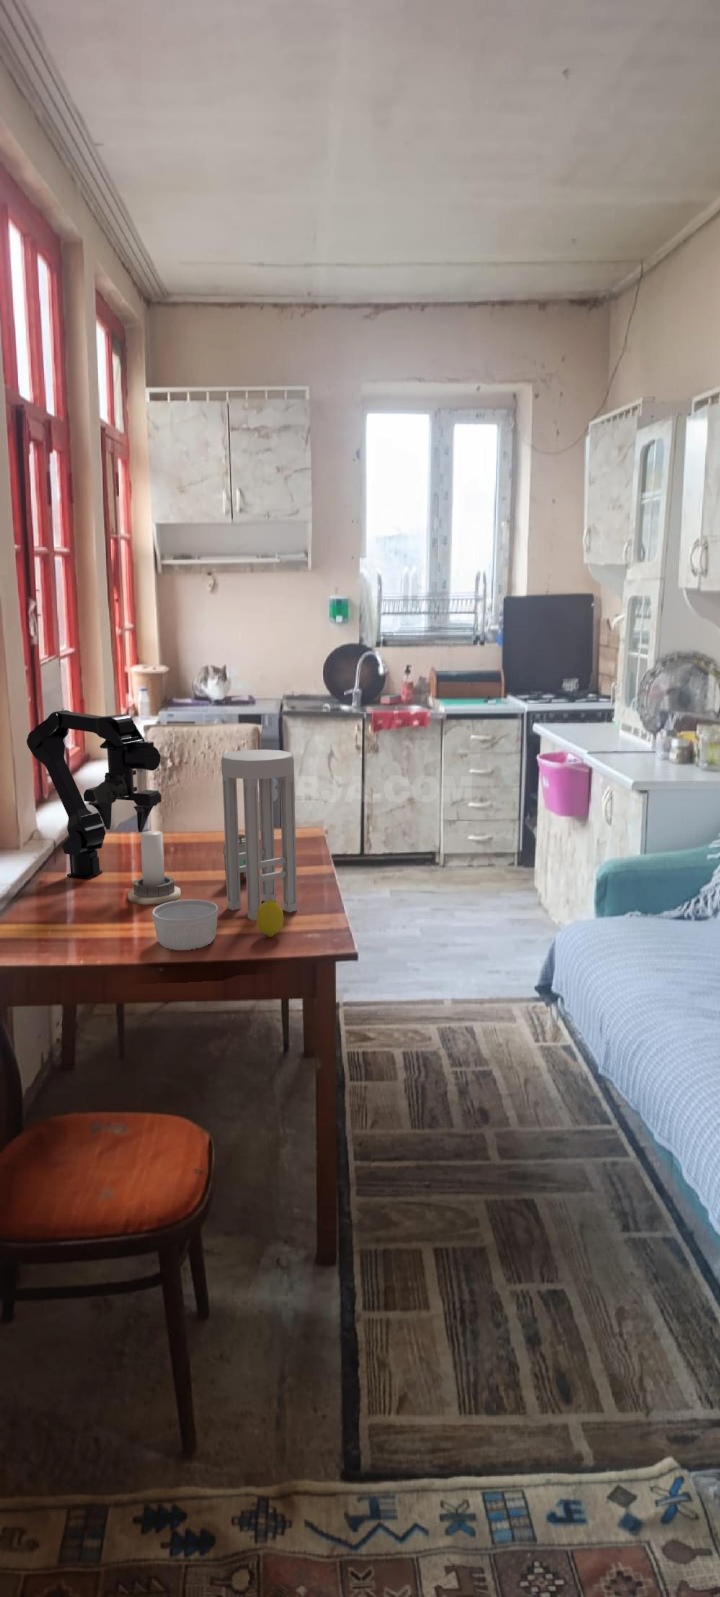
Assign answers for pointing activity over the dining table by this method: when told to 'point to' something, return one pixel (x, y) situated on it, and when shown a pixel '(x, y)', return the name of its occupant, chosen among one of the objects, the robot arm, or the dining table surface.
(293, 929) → the dining table surface
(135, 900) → the socket
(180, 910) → the ramekin
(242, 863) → the food container
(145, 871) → the white smooth rounded part
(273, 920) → the lemon
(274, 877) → the stool
